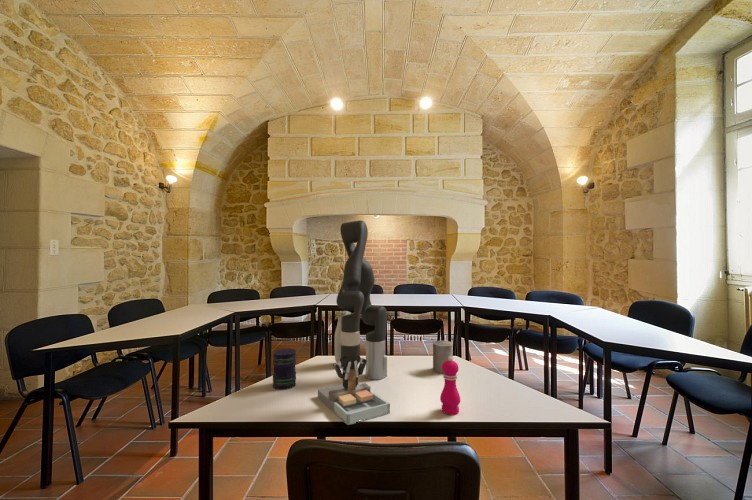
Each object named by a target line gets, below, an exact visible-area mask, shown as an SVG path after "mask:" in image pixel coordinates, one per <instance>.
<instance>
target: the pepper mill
mask: <svg viewBox="0 0 752 500" xmlns="http://www.w3.org/2000/svg"><path fill="white" fill-rule="evenodd" d="M453 359H454V358H452V357H451V356H449V357H448V360H447V361H445V362H444V363H443V364H442V370H443V372H444V374H443V373H442V375H443V379H444V383H443V385H444V386H443V389H442V391H441V394H440V398H439V399H440V400H439V401H440V402H441V412H442V413H443V414H446V415H449V416H451V415H452V416H455V415H457V414H459V413H460V406H459V405H460V404H461V396H460V393H459V391H458V388H457V379H458V374H457V373H458V372H459V364H458V362H456V361H454V360H453ZM452 360H453V361H452Z"/></svg>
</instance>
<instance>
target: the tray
mask: <svg viewBox="0 0 752 500" xmlns="http://www.w3.org/2000/svg"><path fill="white" fill-rule="evenodd" d="M372 393H373V394H372V395H373V399H372V401H371V402H367V403H363V404H359V405H355V406H351V407H347V408H342V407H341V406H340V405H339V404H337V403H334V412H333V413H334V414H335V415H336V416H337V415H338V416H339V417H340V418H342V419H343V420H344V421H345V422H344V421H343V420H342V419H341V420H342V421H343V422H344V423H345V425H347V426H349V425H355V424H357V423H356V422H357V421H359V420H364V419H368V420H370V419H369V418H372V417H375V418H377V417H376V416H379V417H381V416H380V415H382V416H385V415H384V414H386V415H388V413H389V414H390V413H391V403H389V402H388V401H387V400H385V399H384V398H382V397H381V396H379V395H378V394H376V393H375V392H372ZM338 416H337V417H338ZM339 417H338V418H339ZM340 418H339V419H340ZM372 419H373V418H372Z"/></svg>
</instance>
